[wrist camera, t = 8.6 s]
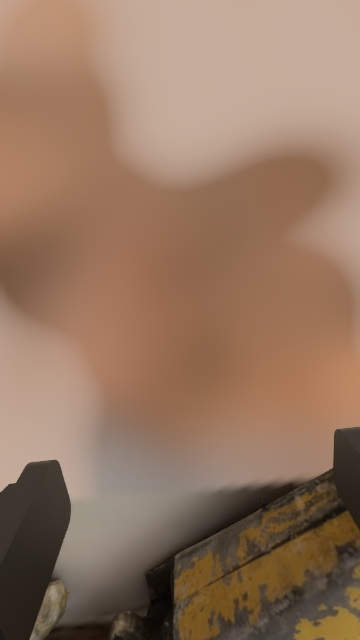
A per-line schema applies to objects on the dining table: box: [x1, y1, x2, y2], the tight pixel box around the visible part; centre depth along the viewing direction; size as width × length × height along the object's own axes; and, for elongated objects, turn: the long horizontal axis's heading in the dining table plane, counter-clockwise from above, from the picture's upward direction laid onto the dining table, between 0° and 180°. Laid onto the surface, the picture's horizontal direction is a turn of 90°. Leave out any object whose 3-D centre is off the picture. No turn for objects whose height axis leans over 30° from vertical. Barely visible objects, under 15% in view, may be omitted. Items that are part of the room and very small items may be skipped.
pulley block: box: [30, 468, 360, 640], centre depth 12 cm, size 14×6×30 cm
